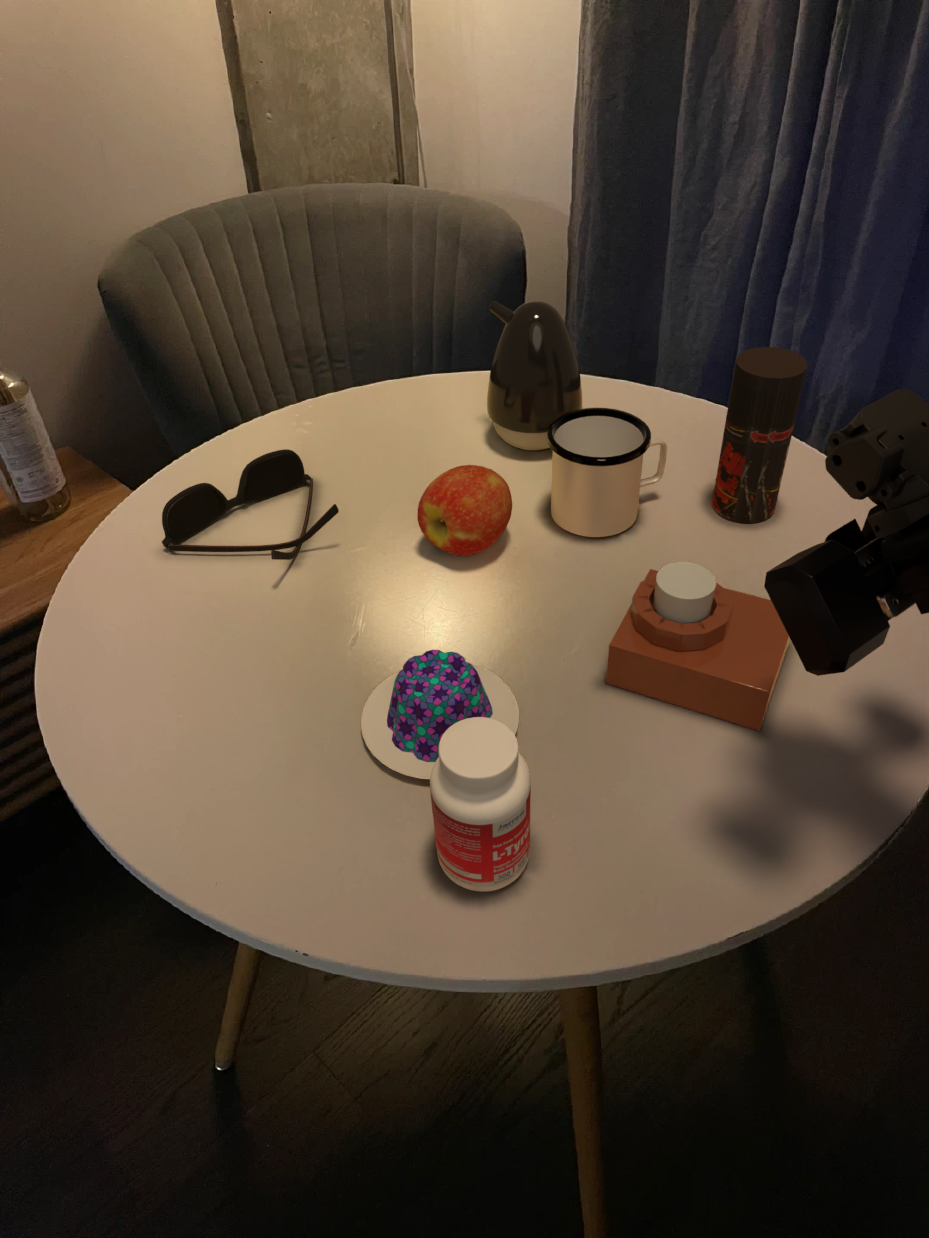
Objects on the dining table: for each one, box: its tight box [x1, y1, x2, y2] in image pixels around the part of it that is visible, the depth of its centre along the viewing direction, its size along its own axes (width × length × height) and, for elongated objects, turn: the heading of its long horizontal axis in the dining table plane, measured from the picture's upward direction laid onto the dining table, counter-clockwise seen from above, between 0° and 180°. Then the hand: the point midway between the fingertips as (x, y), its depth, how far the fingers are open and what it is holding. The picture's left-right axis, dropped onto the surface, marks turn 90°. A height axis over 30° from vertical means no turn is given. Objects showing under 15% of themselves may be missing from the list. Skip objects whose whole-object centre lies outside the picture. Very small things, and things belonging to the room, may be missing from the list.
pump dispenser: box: [486, 300, 583, 451], centre depth 93 cm, size 10×10×15 cm
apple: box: [416, 464, 513, 556], centre depth 82 cm, size 8×8×8 cm
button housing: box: [605, 568, 791, 731], centre depth 69 cm, size 12×10×6 cm
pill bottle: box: [429, 717, 532, 892], centre depth 55 cm, size 6×6×11 cm
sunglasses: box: [161, 448, 340, 561], centre depth 84 cm, size 17×14×5 cm
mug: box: [547, 407, 668, 538], centre depth 84 cm, size 12×10×9 cm
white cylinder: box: [653, 561, 717, 624], centre depth 67 cm, size 4×4×2 cm
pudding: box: [360, 649, 520, 780], centre depth 66 cm, size 12×12×5 cm
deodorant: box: [711, 346, 809, 525], centre depth 82 cm, size 6×6×15 cm
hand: (798, 583), depth 57 cm, fingers closed
